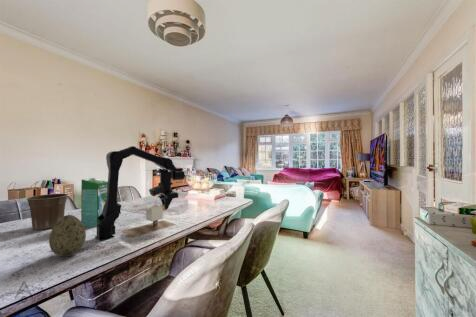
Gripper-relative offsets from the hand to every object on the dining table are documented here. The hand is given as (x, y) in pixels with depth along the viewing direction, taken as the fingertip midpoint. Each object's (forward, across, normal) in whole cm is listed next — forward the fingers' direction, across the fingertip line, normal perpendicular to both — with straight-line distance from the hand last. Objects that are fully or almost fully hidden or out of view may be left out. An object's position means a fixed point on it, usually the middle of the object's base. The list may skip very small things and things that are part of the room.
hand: (165, 209), depth 117 cm
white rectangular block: (+4, +1, -5) cm, 6 cm away
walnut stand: (+8, +3, -9) cm, 13 cm away
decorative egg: (+9, +11, -43) cm, 45 cm away
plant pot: (+9, -37, -48) cm, 61 cm away
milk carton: (+9, -26, -28) cm, 40 cm away
